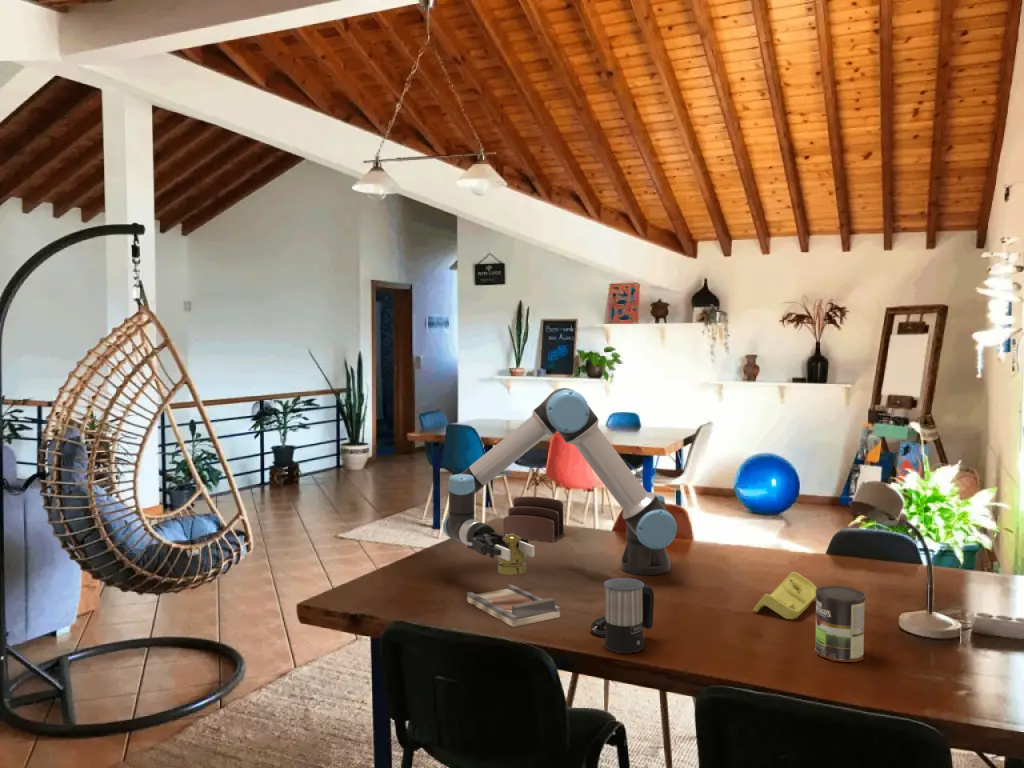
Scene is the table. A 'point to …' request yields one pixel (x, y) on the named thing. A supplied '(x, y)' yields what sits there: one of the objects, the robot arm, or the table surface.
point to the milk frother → (625, 615)
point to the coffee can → (840, 622)
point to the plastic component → (789, 596)
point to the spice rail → (510, 593)
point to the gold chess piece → (512, 557)
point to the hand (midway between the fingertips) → (521, 553)
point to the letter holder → (535, 519)
